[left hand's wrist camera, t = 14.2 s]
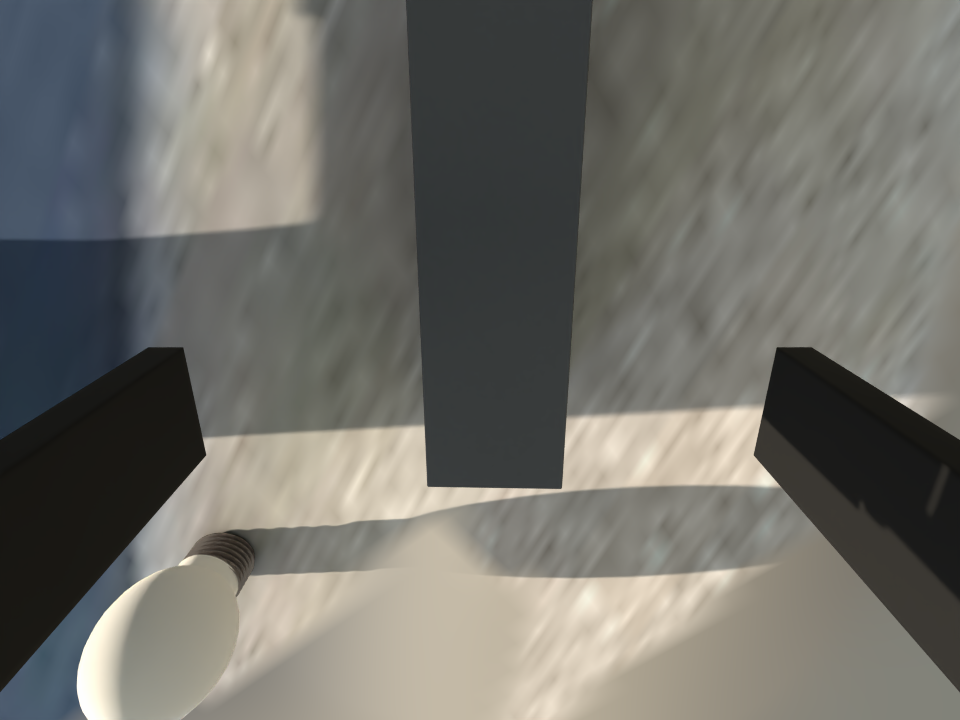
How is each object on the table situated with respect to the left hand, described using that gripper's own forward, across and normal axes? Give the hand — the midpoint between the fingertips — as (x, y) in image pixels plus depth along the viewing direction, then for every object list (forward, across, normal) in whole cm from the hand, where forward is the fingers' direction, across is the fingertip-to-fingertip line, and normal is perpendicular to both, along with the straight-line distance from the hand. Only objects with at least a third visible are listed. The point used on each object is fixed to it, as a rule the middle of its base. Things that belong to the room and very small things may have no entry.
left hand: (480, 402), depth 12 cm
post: (+16, -1, -33) cm, 37 cm away
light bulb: (+17, +16, +19) cm, 30 cm away
